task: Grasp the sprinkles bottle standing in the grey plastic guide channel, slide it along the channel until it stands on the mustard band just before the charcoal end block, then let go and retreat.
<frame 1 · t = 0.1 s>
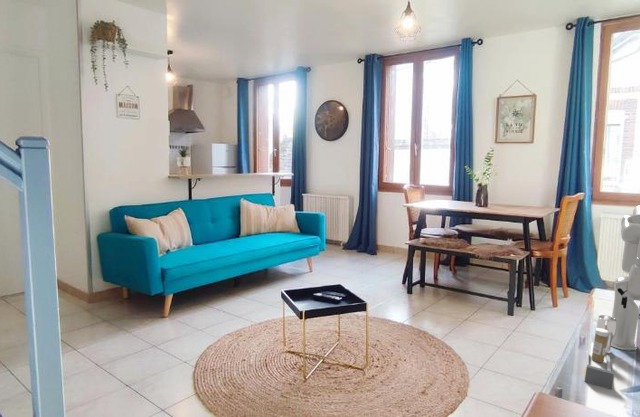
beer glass: (602, 350, 187), on the table
sprinkles bottle: (597, 360, 178), on the table
guide channel: (597, 369, 171), on the table
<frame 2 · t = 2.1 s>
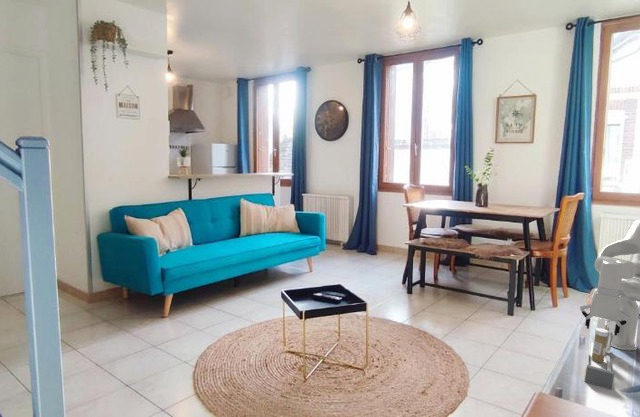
hand: (601, 331, 176), 13 cm above the table, fingers open, 9 cm apart
nothing on the table moved.
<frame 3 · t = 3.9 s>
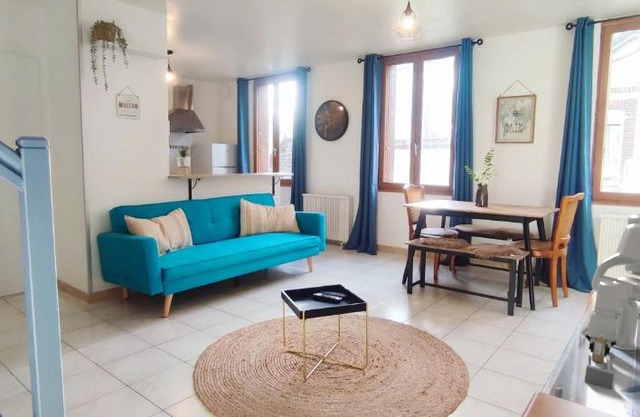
hand: (598, 352, 178), 3 cm above the table, fingers closed on sprinkles bottle, 4 cm apart
sprinkles bottle: (597, 360, 178), on the table, touching gripper
everything else where it was.
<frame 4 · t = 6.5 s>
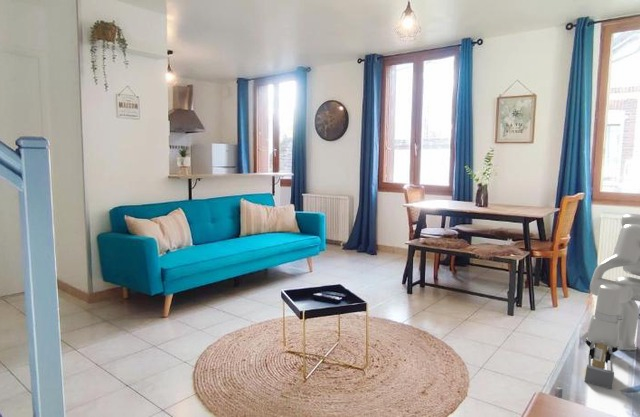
hand: (599, 359, 170), 4 cm above the table, fingers closed on sprinkles bottle, 4 cm apart
sprinkles bottle: (597, 367, 171), point 1 cm above the table, touching gripper
everything else where it was.
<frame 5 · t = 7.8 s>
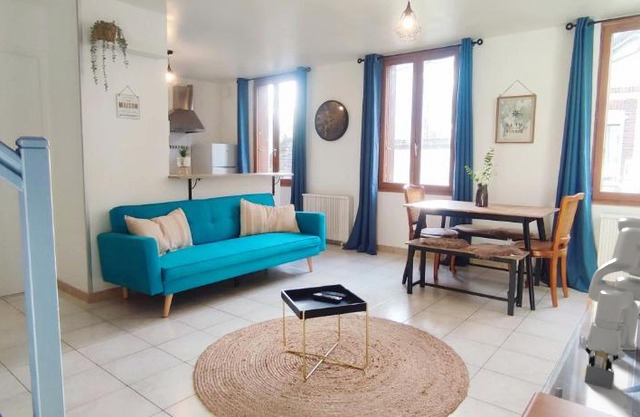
hand: (599, 367, 164), 4 cm above the table, fingers closed on sprinkles bottle, 4 cm apart
sprinkles bottle: (598, 375, 165), point 1 cm above the table, touching gripper
everything else where it was.
when the fingers open (3 cm above the table, at t = 9.0 s): sprinkles bottle stays where it is, on the table.
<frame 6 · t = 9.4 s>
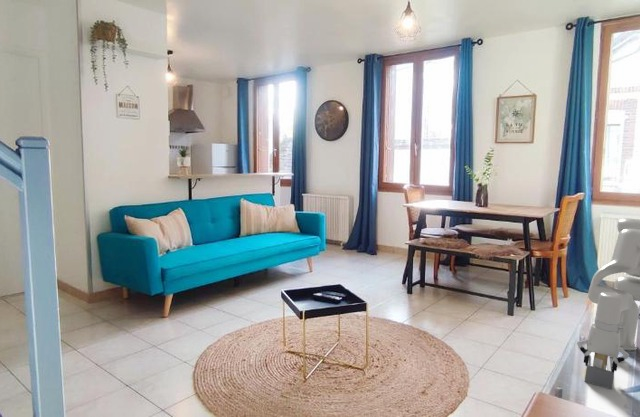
hand: (599, 368, 163), 4 cm above the table, fingers open, 8 cm apart
sprinkles bottle: (597, 378, 164), on the table
everything else where it was.
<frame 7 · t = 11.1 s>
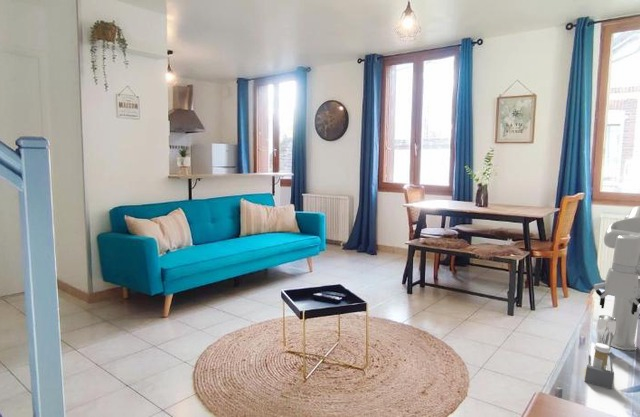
hand: (617, 310, 164), 26 cm above the table, fingers open, 9 cm apart
nothing on the table moved.
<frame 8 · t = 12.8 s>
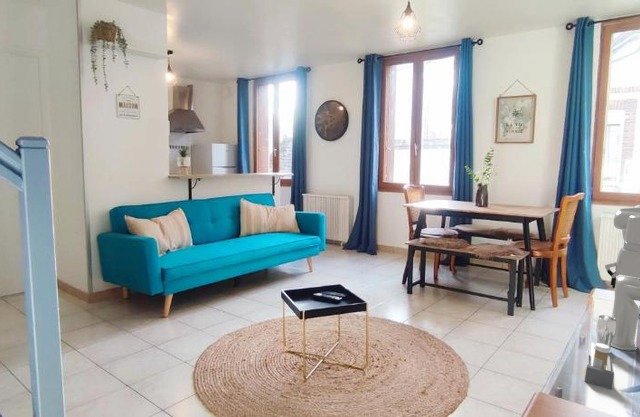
hand: (628, 289, 167), 33 cm above the table, fingers open, 9 cm apart
nothing on the table moved.
at the end: sprinkles bottle 0.2 cm from the target spot, on the table; sprinkles bottle tilted 0°; the gripper is holding nothing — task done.
